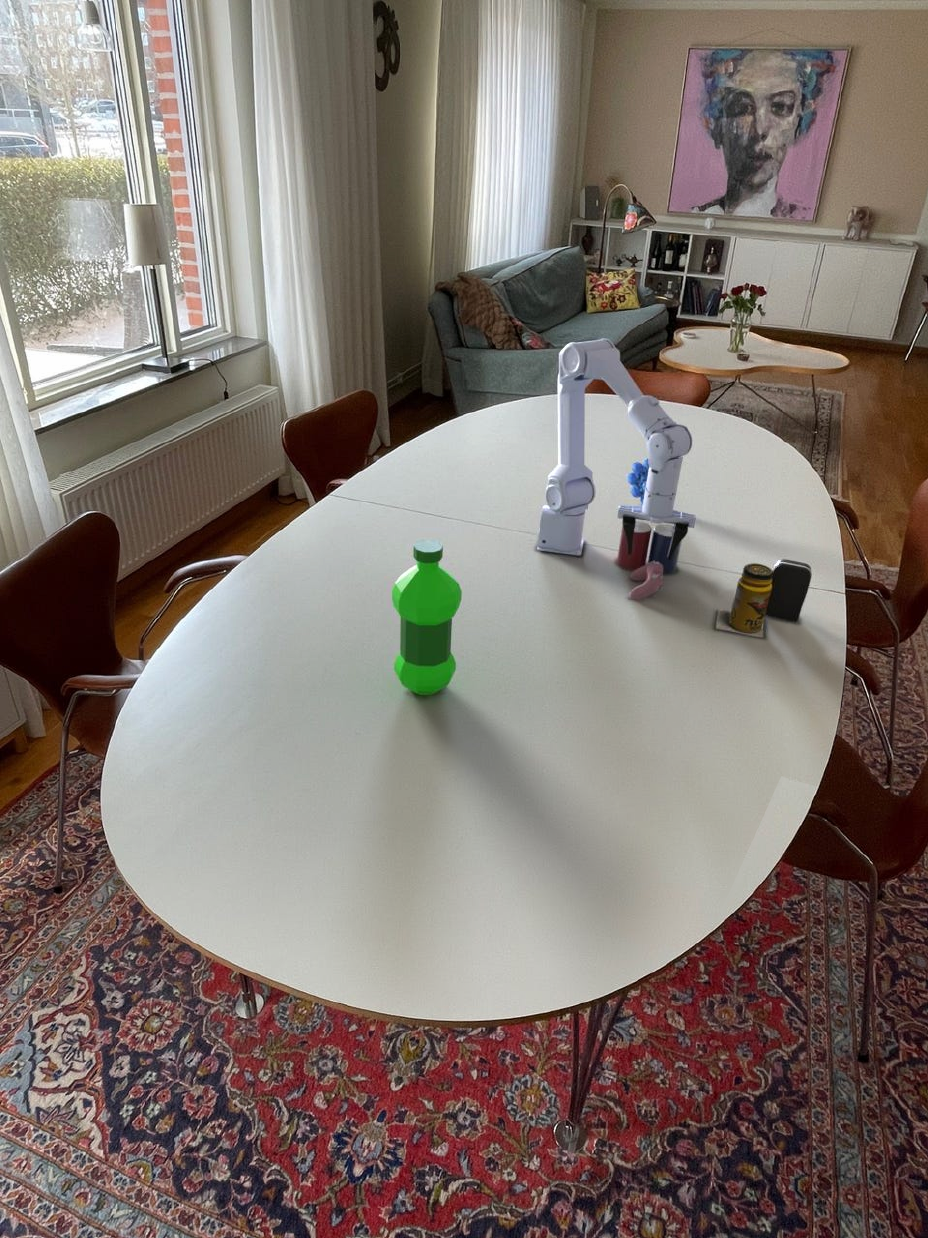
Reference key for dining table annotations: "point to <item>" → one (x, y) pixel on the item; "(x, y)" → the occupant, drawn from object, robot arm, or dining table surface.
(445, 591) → the plastic bottle
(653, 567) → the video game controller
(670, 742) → the dining table surface
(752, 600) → the condiment
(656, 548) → the tin can navy
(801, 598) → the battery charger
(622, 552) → the tin can burgundy
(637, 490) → the blue flower
